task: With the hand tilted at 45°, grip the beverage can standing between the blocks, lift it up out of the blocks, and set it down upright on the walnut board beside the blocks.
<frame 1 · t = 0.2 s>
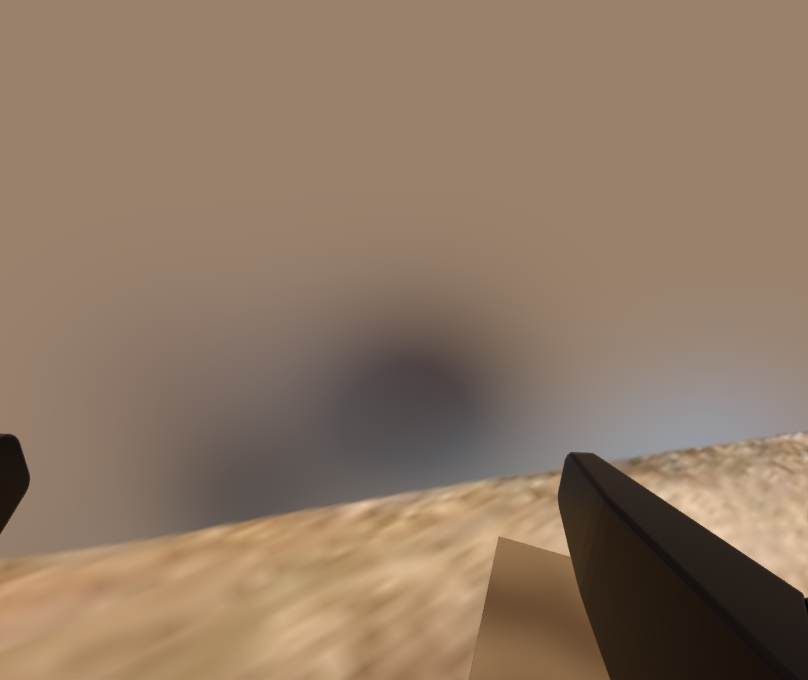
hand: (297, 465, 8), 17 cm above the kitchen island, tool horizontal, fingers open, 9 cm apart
walnut board: (590, 661, 23), on the kitchen island
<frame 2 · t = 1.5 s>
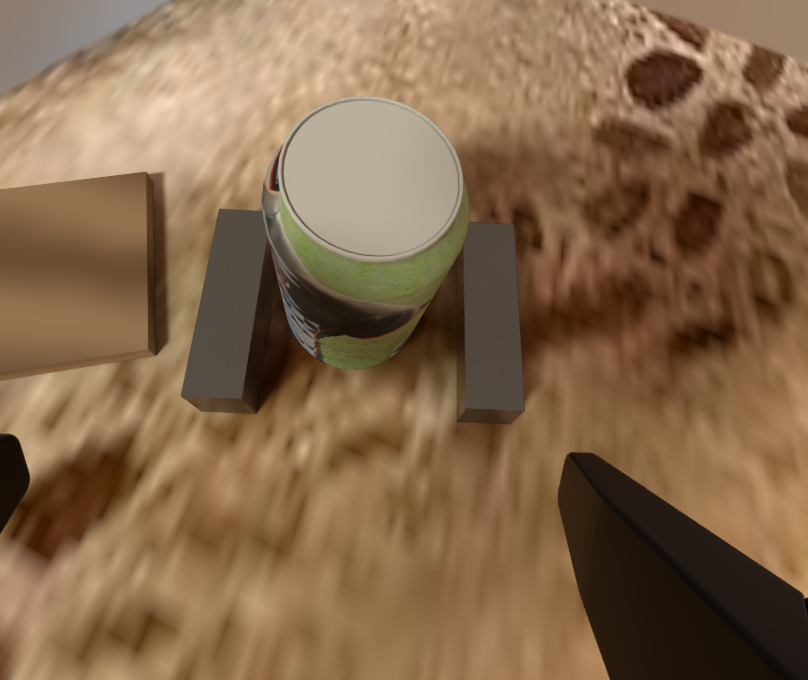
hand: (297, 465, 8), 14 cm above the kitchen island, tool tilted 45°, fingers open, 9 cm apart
blocks: (363, 325, 24), on the kitchen island
beverage can: (363, 327, 24), on the kitchen island
walnut board: (47, 277, 24), on the kitchen island
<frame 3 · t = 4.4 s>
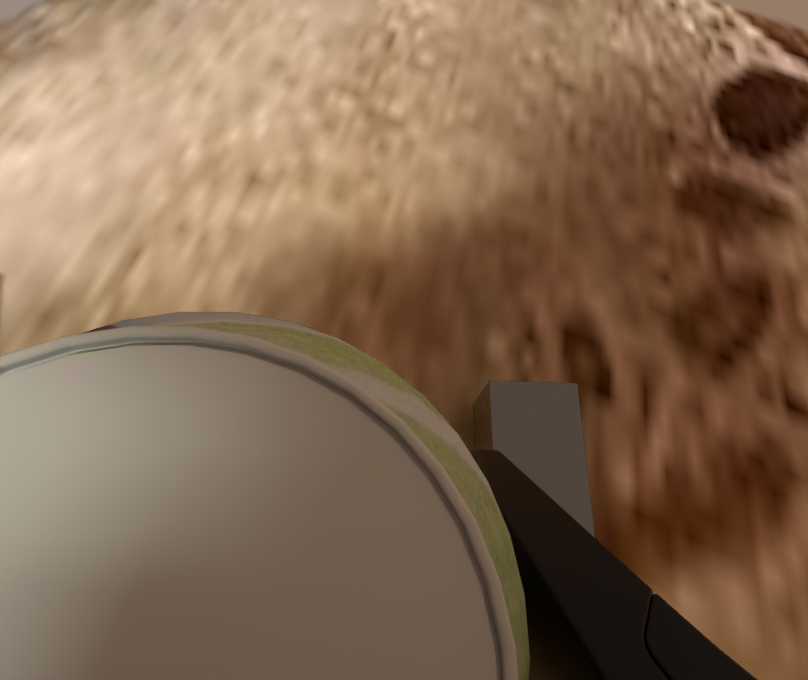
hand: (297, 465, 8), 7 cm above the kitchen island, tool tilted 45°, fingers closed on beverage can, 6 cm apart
blocks: (318, 556, 14), on the kitchen island
beverage can: (315, 552, 14), on the kitchen island, touching gripper
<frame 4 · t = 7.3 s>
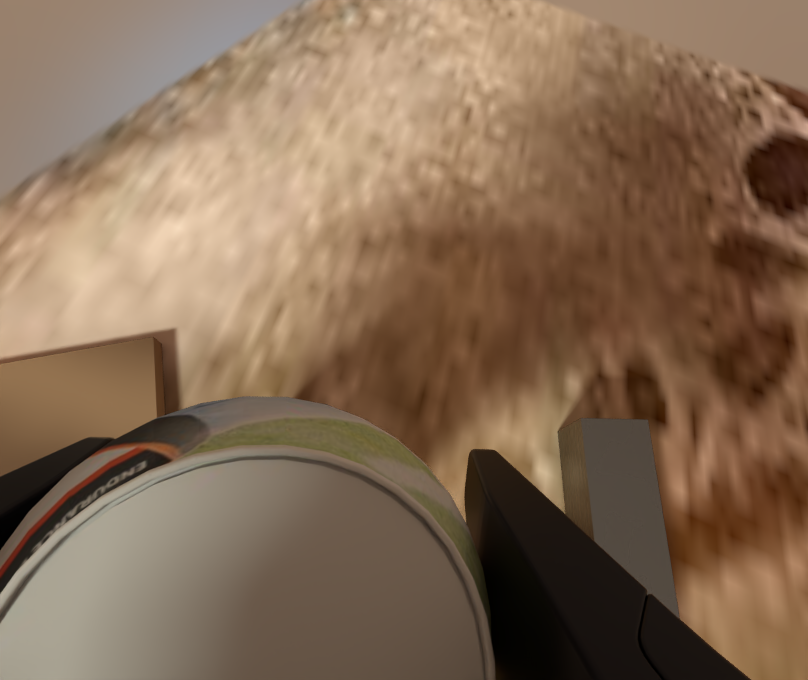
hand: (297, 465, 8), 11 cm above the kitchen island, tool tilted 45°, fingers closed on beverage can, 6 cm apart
blocks: (447, 552, 18), on the kitchen island
beverage can: (281, 530, 16), point 3 cm above the kitchen island, touching gripper
walnut board: (27, 493, 18), on the kitchen island
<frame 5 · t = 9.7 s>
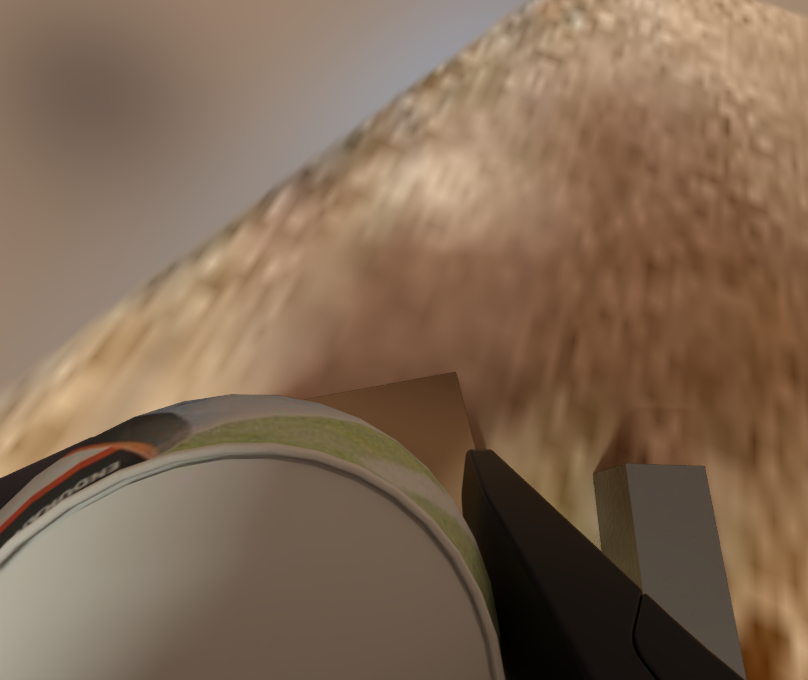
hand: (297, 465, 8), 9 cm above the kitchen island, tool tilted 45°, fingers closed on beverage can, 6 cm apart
beverage can: (277, 545, 15), point 1 cm above the kitchen island, touching gripper, walnut board
walnut board: (338, 553, 16), on the kitchen island
when the fingers open (9 cm above the kitchen island, at t = 10.5 s): beverage can stays where it is, resting on walnut board.
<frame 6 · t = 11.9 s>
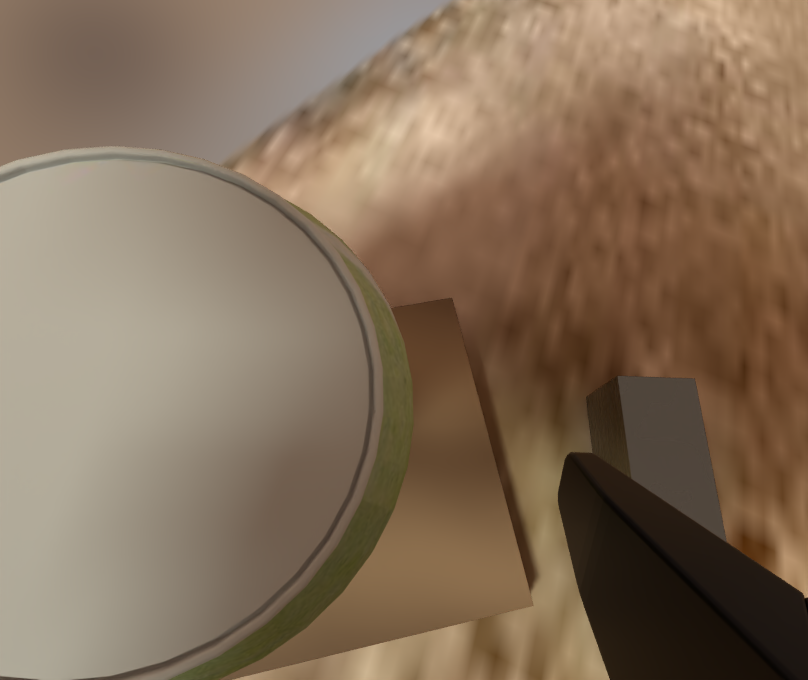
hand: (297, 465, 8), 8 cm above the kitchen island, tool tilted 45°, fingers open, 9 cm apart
beverage can: (278, 458, 16), point 1 cm above the kitchen island, touching walnut board
walnut board: (336, 469, 16), on the kitchen island
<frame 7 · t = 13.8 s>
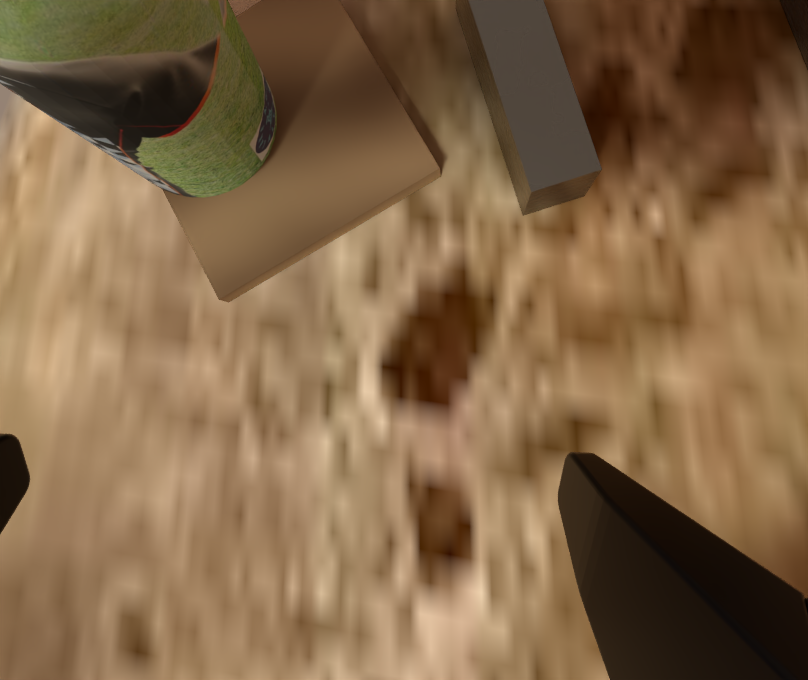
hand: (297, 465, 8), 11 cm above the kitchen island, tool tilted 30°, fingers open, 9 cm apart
blocks: (663, 50, 19), on the kitchen island
beverage can: (229, 142, 20), point 1 cm above the kitchen island, touching walnut board
walnut board: (276, 139, 21), on the kitchen island
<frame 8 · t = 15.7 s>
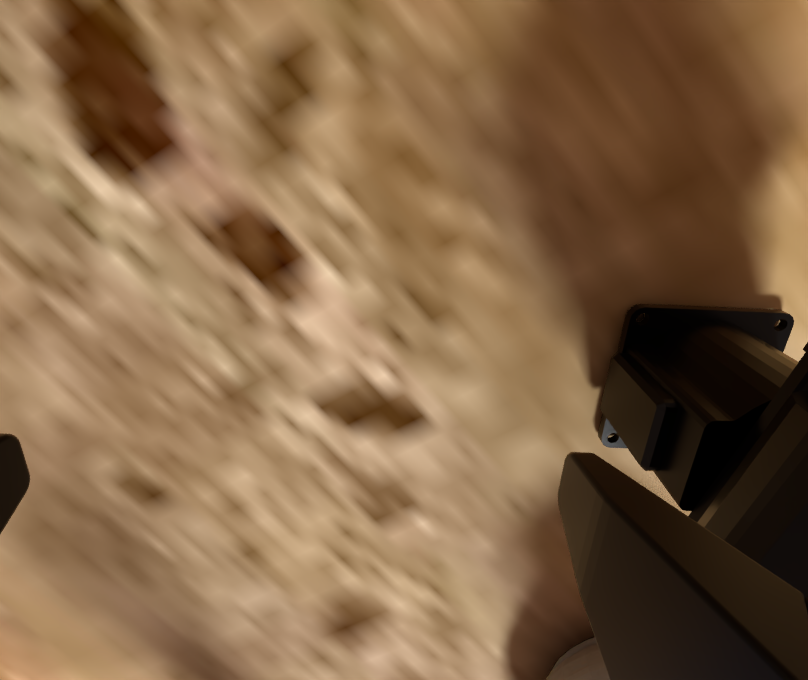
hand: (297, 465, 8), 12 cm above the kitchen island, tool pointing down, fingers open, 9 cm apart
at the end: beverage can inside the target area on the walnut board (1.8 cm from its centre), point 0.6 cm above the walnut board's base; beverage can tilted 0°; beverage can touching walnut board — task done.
